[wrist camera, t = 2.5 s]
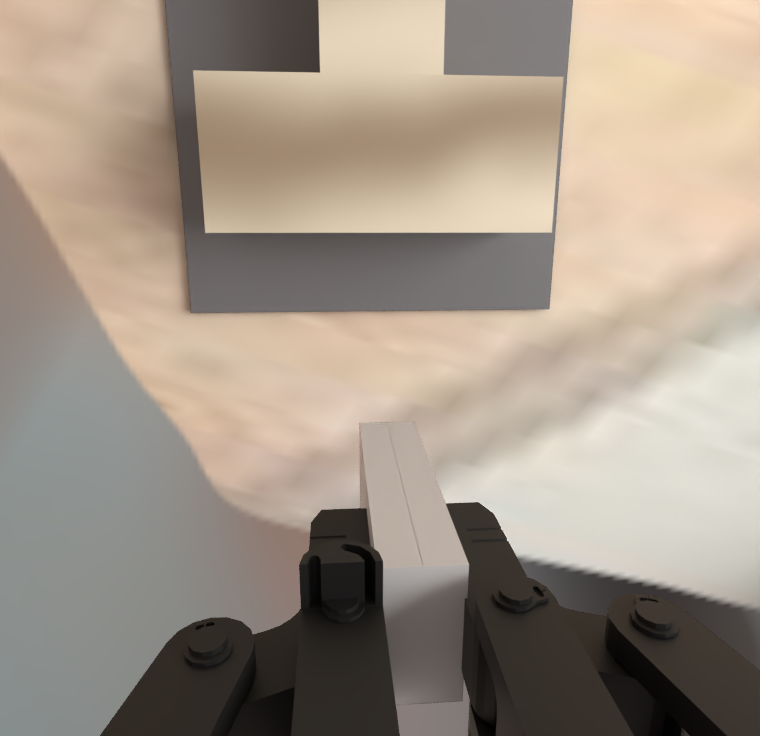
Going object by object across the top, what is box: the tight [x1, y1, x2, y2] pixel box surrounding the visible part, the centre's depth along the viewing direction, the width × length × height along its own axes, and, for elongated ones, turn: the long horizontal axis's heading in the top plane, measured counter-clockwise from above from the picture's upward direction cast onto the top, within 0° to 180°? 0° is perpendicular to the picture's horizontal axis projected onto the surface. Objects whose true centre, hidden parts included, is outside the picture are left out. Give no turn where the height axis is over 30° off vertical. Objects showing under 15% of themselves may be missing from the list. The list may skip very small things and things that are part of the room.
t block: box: [193, 0, 563, 233], centre depth 20 cm, size 13×12×5 cm
